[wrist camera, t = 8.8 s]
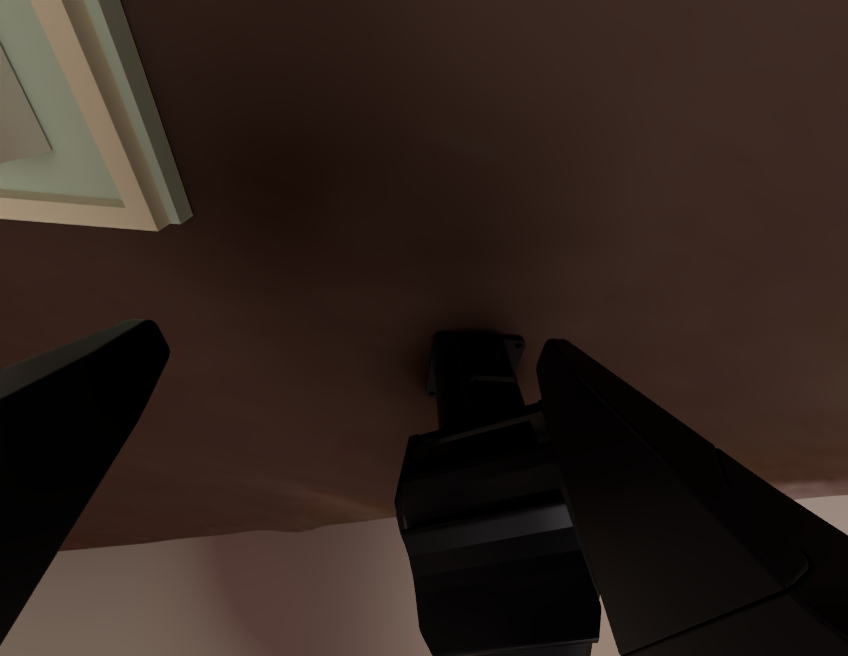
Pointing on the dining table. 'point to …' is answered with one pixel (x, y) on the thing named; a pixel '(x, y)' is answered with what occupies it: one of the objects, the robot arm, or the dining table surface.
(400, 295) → the dining table surface
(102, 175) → the shallow rectangular tray
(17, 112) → the power strip
